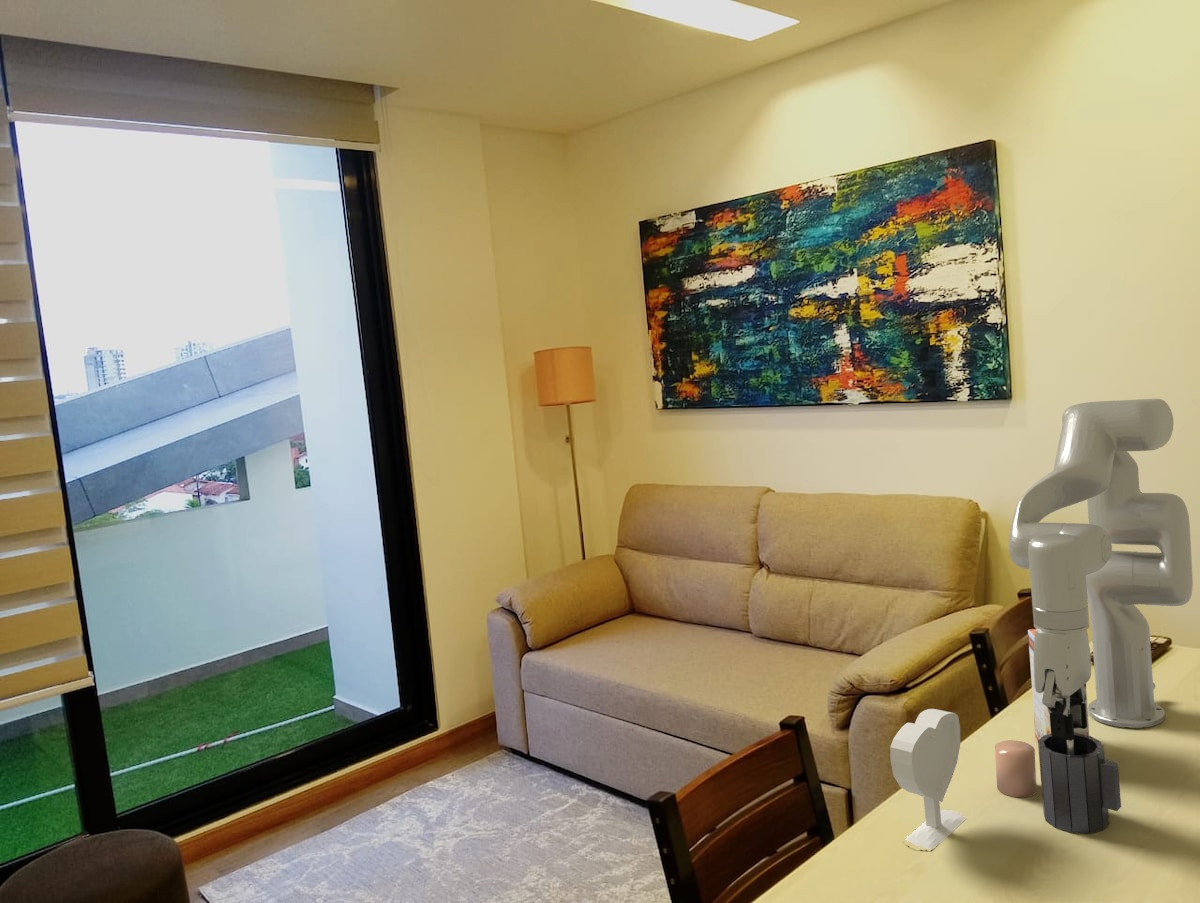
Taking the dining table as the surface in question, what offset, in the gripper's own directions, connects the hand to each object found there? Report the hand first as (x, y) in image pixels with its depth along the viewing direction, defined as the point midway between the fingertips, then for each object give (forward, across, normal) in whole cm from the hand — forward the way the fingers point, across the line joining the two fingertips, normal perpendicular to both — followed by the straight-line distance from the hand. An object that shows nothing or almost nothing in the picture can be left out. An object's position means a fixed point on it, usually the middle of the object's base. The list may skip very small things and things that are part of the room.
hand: (1069, 730), depth 141 cm
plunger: (+10, 0, 0) cm, 10 cm away
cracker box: (+14, -20, -10) cm, 27 cm away
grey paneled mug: (+14, 0, 0) cm, 14 cm away
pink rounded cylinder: (+14, -4, -11) cm, 18 cm away
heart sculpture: (+14, +15, -15) cm, 26 cm away
